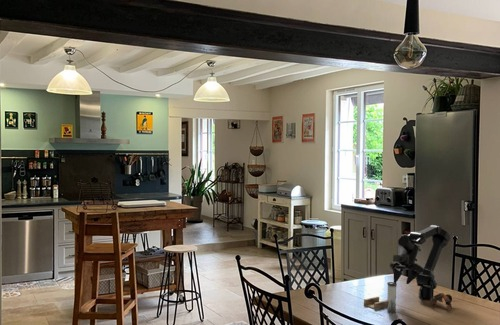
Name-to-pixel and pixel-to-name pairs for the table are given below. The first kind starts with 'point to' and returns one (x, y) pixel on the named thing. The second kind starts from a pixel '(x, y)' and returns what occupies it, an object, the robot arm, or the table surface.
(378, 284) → the table surface
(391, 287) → the pin
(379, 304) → the slot block
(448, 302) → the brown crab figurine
